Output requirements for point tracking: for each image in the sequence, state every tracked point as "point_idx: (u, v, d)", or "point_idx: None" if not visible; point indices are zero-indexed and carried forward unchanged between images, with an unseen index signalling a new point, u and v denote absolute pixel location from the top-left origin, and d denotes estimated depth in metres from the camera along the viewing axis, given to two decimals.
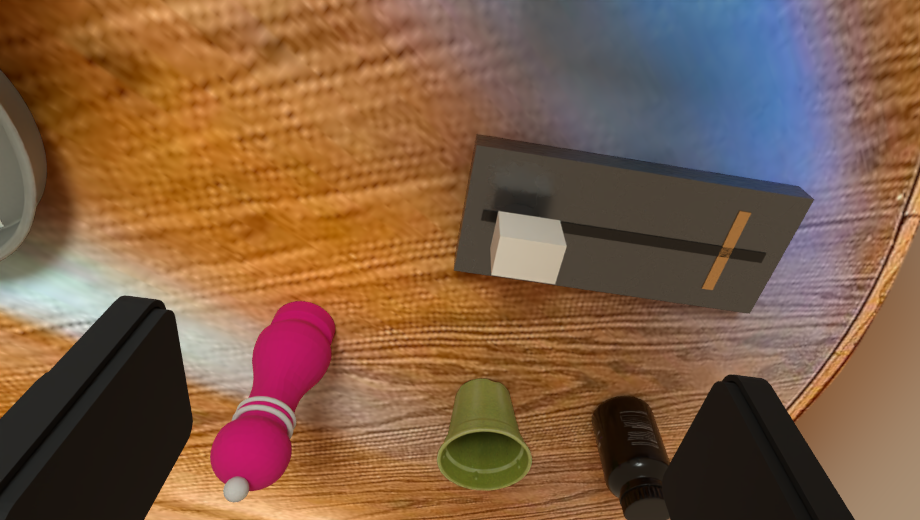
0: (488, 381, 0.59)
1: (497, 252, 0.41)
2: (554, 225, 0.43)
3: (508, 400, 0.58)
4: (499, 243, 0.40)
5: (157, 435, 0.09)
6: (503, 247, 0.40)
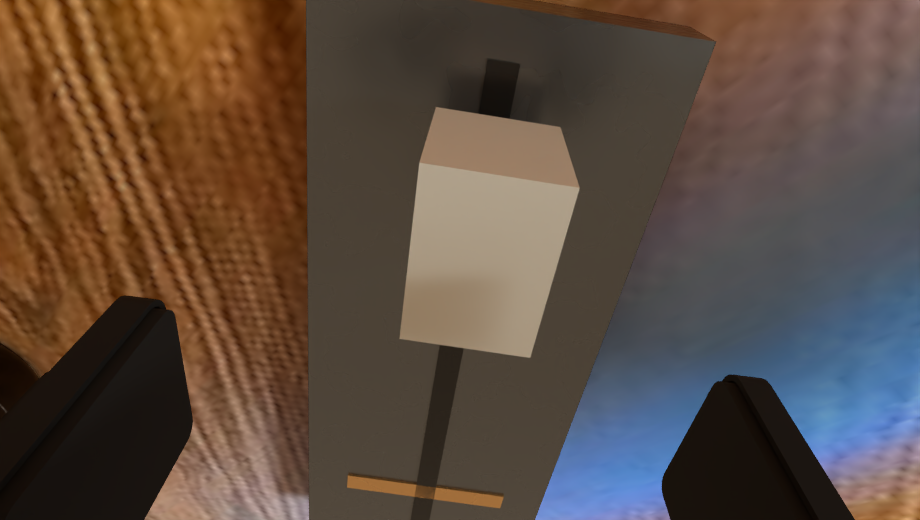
0: None
1: (513, 180, 0.12)
2: None
3: None
4: (550, 186, 0.12)
5: (157, 435, 0.09)
6: (532, 197, 0.12)
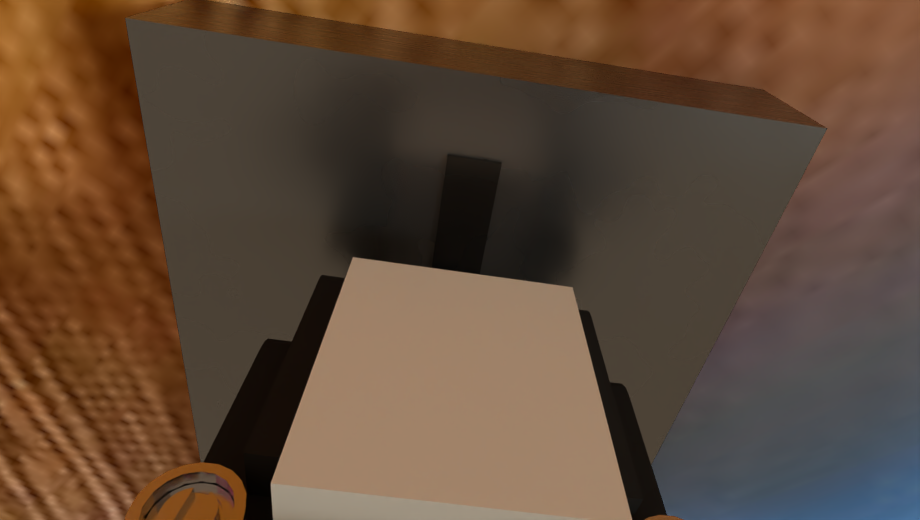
0: None
1: (486, 509, 0.05)
2: None
3: None
4: None
5: None
6: None
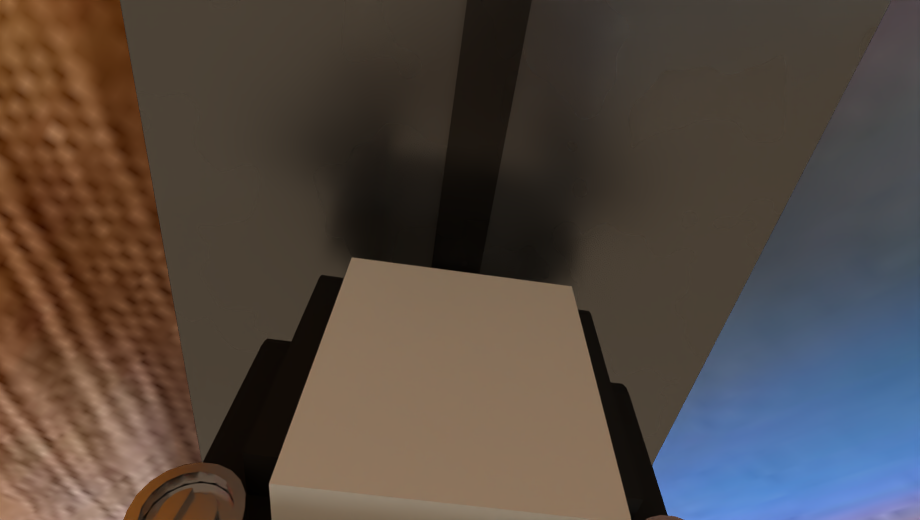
0: None
1: (484, 509, 0.05)
2: None
3: None
4: None
5: None
6: None
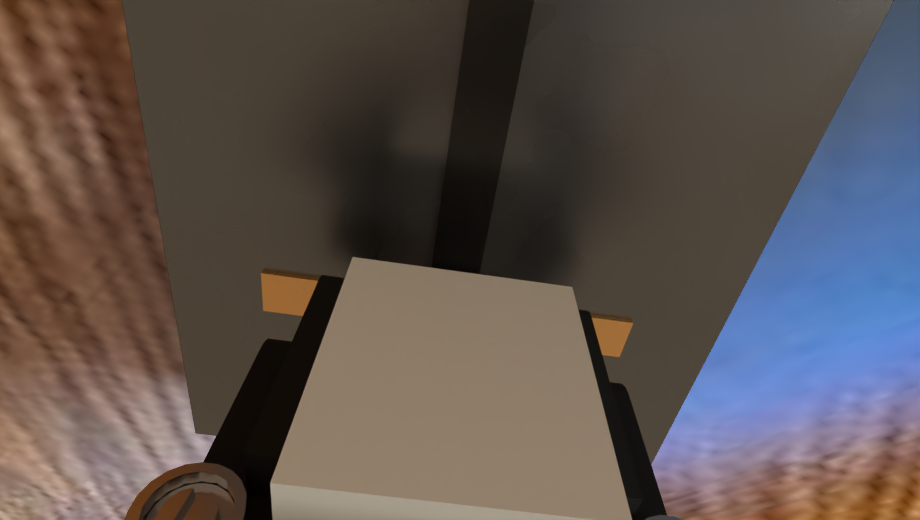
0: None
1: (485, 509, 0.05)
2: None
3: None
4: None
5: None
6: None
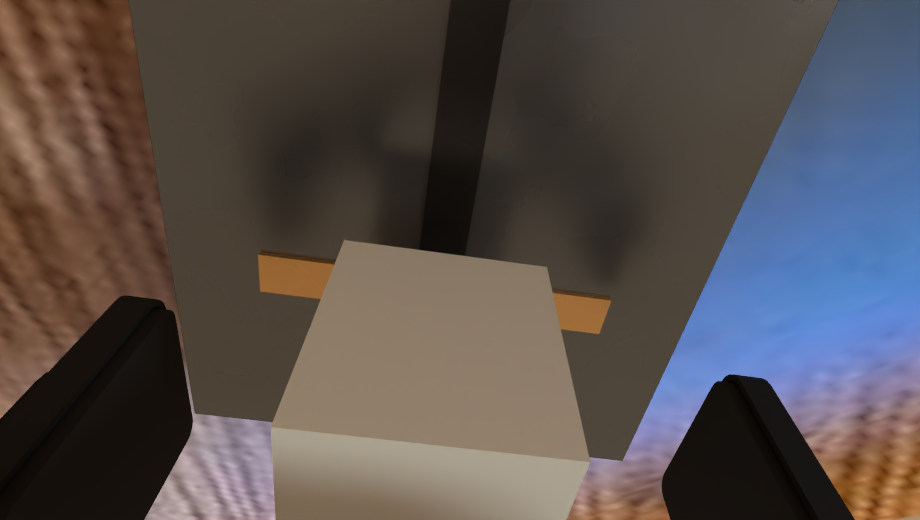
0: None
1: (460, 450, 0.06)
2: None
3: None
4: (533, 459, 0.06)
5: (157, 435, 0.09)
6: (498, 475, 0.06)
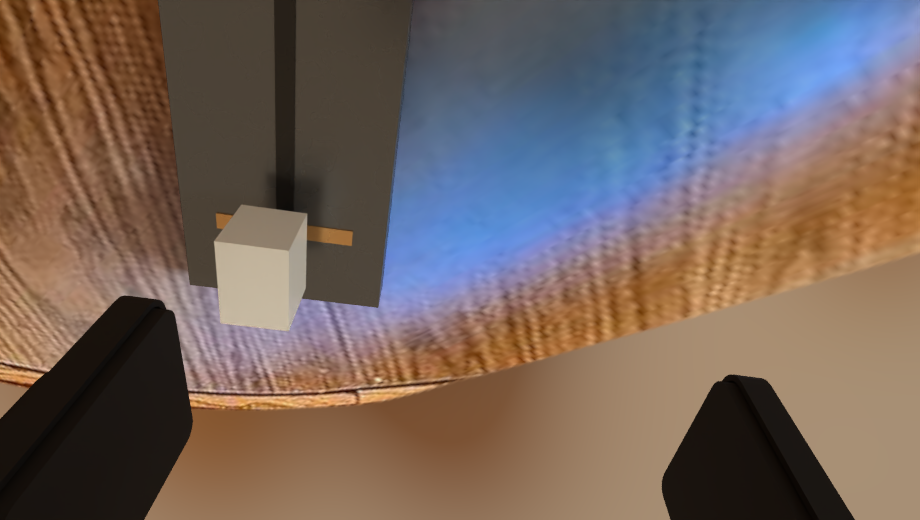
0: None
1: (258, 248, 0.26)
2: (301, 290, 0.31)
3: None
4: (275, 250, 0.26)
5: (157, 435, 0.09)
6: (268, 255, 0.26)
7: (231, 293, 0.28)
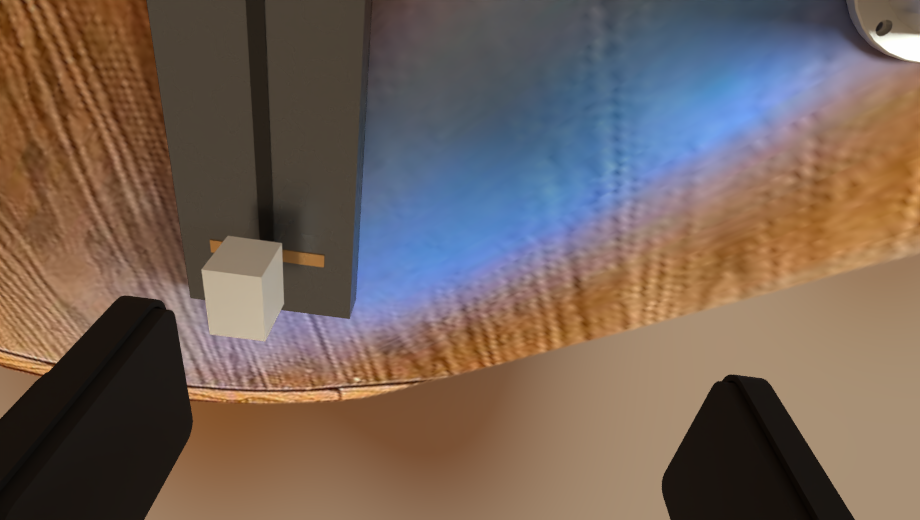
0: None
1: (237, 275, 0.32)
2: (279, 306, 0.37)
3: None
4: (250, 277, 0.32)
5: (157, 435, 0.09)
6: (245, 280, 0.32)
7: (217, 310, 0.34)
